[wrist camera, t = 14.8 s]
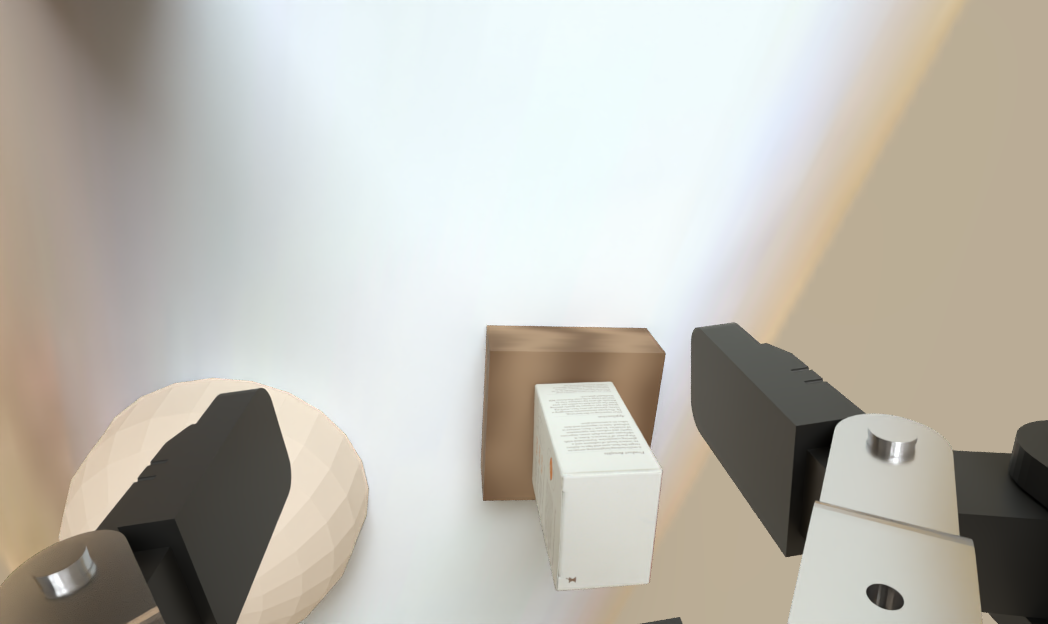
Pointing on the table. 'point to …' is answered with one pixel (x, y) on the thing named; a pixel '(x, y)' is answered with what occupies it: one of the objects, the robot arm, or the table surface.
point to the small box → (593, 486)
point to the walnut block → (553, 359)
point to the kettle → (306, 519)
